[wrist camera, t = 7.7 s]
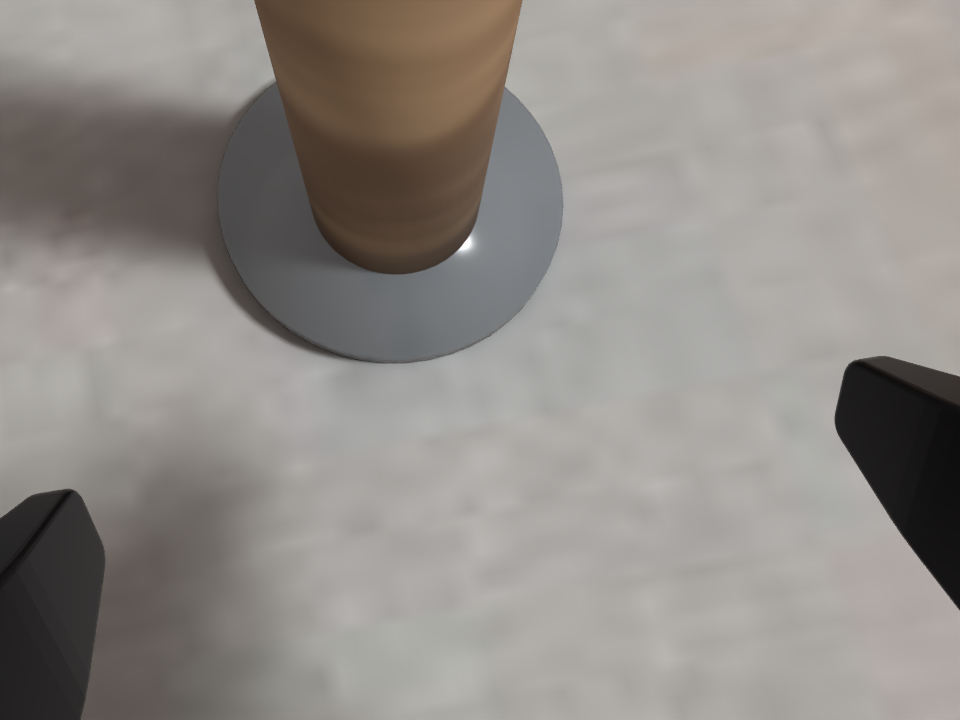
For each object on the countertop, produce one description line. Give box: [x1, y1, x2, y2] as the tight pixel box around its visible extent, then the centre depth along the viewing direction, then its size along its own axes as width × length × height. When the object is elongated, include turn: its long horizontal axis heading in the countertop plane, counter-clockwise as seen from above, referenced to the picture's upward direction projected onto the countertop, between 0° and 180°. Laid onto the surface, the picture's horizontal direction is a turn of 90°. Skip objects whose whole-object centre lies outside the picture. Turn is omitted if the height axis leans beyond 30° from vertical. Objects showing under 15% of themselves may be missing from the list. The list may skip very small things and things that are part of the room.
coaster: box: [217, 82, 563, 363], centre depth 19 cm, size 9×9×1 cm
